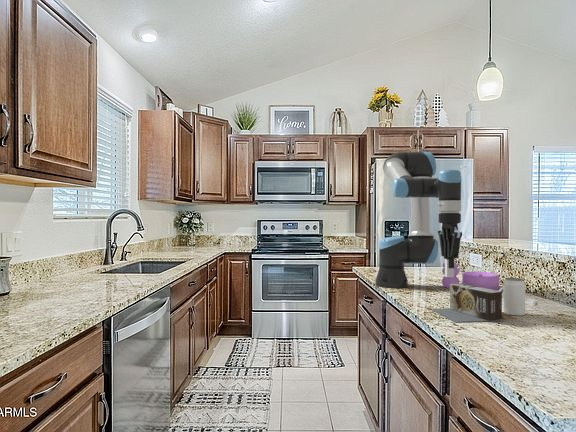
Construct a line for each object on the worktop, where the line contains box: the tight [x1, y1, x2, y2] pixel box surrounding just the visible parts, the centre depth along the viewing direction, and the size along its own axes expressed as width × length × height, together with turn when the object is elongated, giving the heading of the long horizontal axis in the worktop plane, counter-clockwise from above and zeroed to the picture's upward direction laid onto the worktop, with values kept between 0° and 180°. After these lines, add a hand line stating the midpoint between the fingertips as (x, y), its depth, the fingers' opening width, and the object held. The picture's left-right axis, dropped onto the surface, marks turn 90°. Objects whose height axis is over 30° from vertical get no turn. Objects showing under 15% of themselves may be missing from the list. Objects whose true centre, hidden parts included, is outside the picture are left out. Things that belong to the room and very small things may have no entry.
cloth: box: [498, 286, 537, 307], centre depth 153 cm, size 22×19×6 cm
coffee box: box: [449, 282, 503, 321], centre depth 129 cm, size 9×6×16 cm
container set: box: [441, 261, 500, 291], centre depth 177 cm, size 25×15×13 cm, turn 87°
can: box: [502, 277, 526, 317], centre depth 131 cm, size 6×6×12 cm
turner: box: [501, 312, 516, 320], centre depth 132 cm, size 15×4×1 cm, turn 6°
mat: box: [431, 307, 503, 324], centre depth 129 cm, size 16×16×1 cm
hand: (449, 276), depth 139 cm, fingers closed
